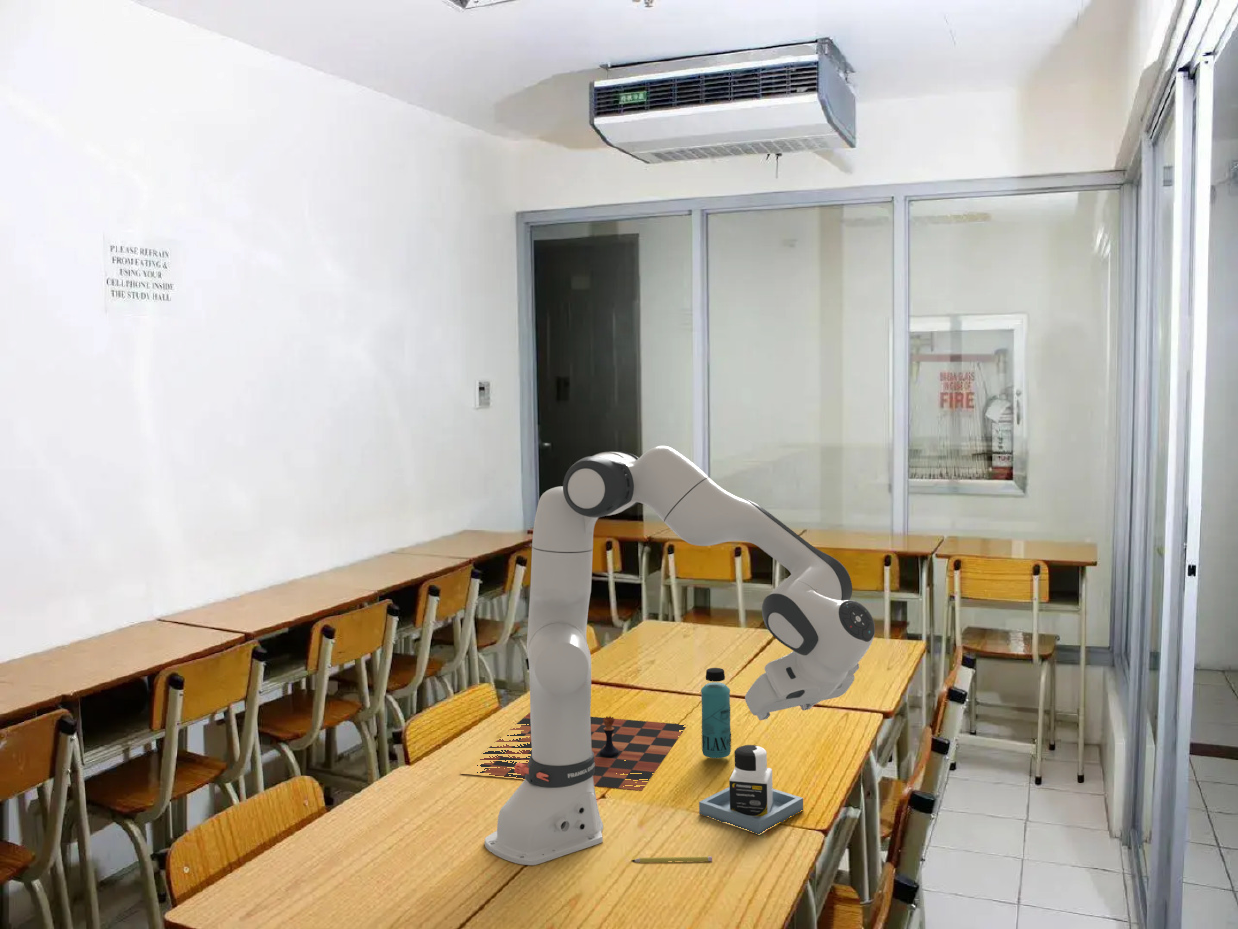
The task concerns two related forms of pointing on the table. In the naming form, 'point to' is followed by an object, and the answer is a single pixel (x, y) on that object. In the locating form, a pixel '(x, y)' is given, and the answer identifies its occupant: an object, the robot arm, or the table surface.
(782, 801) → the tray
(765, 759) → the medicine bottle
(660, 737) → the chessboard
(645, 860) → the pencil
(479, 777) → the table surface
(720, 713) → the beverage bottle
